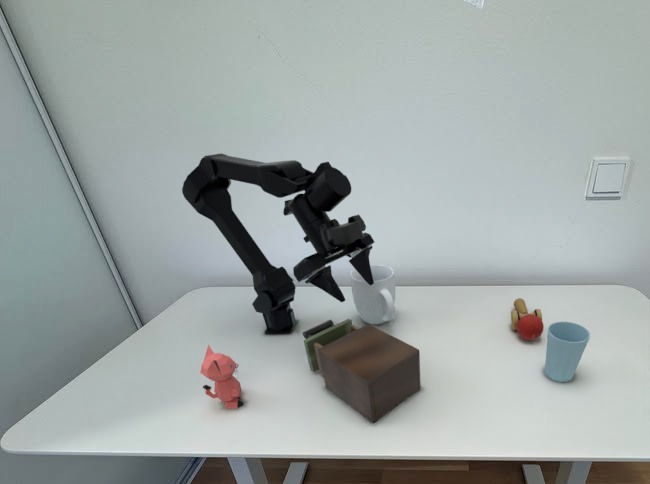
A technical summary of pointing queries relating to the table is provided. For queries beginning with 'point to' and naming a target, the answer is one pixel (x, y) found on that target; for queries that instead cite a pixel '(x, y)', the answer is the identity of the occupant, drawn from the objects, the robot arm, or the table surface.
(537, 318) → the kendama
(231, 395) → the cat figurine
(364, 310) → the mug
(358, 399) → the cabinet
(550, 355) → the cup
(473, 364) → the table surface
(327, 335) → the drawer
